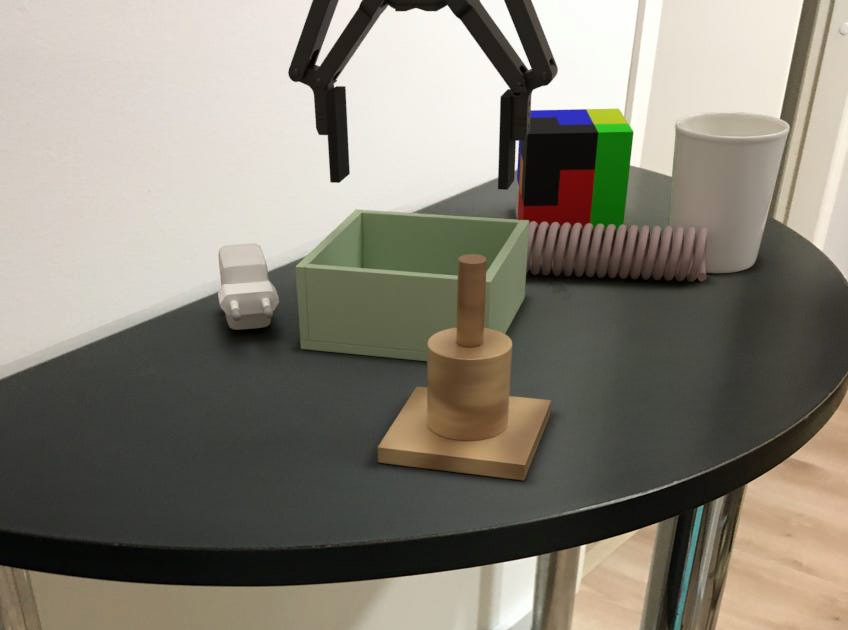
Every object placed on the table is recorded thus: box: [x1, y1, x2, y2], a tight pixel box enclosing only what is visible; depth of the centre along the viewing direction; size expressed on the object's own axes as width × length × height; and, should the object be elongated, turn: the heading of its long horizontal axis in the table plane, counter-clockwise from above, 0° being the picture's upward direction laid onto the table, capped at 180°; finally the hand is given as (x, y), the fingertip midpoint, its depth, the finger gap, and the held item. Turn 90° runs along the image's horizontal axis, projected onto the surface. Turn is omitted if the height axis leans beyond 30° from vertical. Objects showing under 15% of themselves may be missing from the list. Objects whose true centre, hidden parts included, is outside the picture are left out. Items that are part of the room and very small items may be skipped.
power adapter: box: [217, 243, 280, 331], centre depth 92 cm, size 11×5×6 cm, turn 10°
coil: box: [526, 221, 708, 283], centre depth 101 cm, size 5×5×18 cm
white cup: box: [667, 111, 791, 274], centre depth 102 cm, size 10×10×12 cm
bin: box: [295, 208, 529, 362], centre depth 93 cm, size 16×16×7 cm
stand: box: [377, 254, 552, 481], centre depth 73 cm, size 10×10×12 cm
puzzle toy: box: [514, 108, 635, 235], centre depth 112 cm, size 10×10×10 cm
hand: (421, 182), depth 88 cm, fingers open, 13 cm apart
